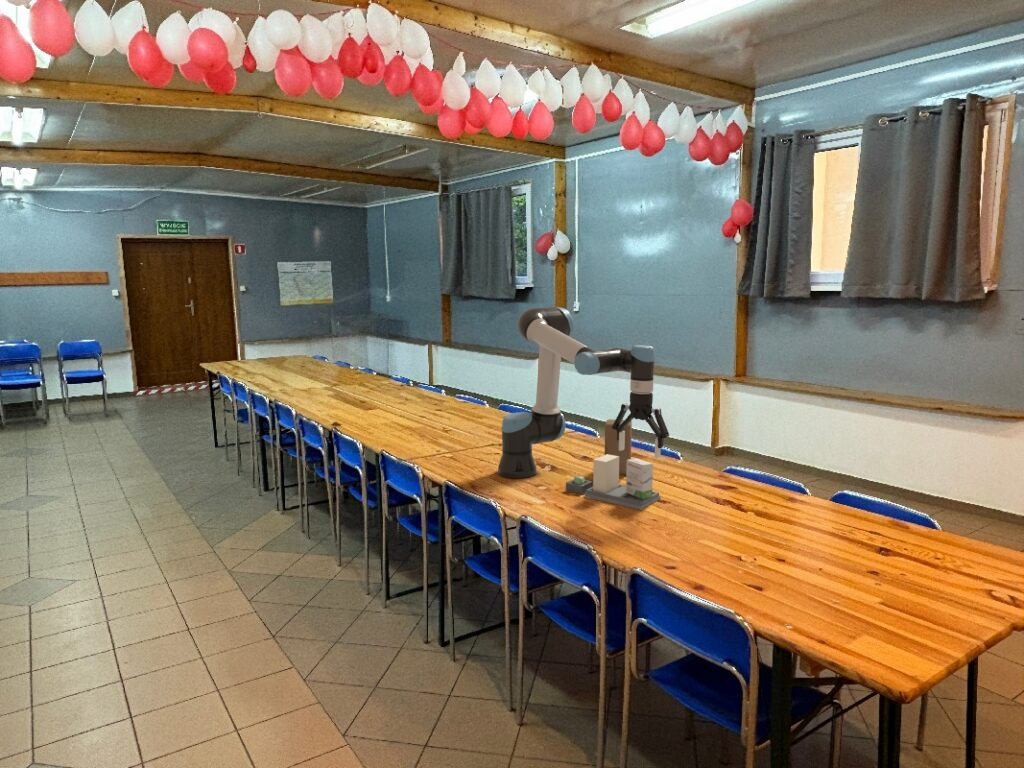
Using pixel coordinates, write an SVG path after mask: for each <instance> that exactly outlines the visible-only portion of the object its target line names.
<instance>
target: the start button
mask: <svg viewBox="0 0 1024 768" xmlns="http://www.w3.org/2000/svg"><path fill="white" fill-rule="evenodd" d="M573 477H574V483H575V484H580V485H582V484H584V480H585V476H583V475H575V476H573Z"/></svg>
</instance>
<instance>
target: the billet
mask: <svg viewBox="0 0 1024 768" xmlns="http://www.w3.org/2000/svg"><path fill="white" fill-rule="evenodd" d="M592 482H593V491H598V492H602V493H609V492H611V491H613V490H615V489H617V488H619V484H620V474H619V456H614V455H609V454H606V455H605V454H604V455H601V456H599V457H597V458H594V459H593V481H592Z"/></svg>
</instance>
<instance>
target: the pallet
mask: <svg viewBox="0 0 1024 768" xmlns="http://www.w3.org/2000/svg"><path fill="white" fill-rule="evenodd" d="M584 497H585V498H588V499H593V500H597V501H601V502H606V503H610V504H614V505H617V506H622V507H627V508H631V509H636V510H639V511H640V510H643V509H646V508H647V507H648V506H651V505H652V504H654V503H655V502H657V501H660V500H661V495H660V492H658V491H653V490H652V497H649V498H645V499H641V498H638V497H636V496H633V495H631V494H629V493H626V484H625V485H624V484H620V483H619V488H617V489H615V490H613V491H611V492H609V493H602V492H598V491H593V487H591V488H589V489H587V490H586V493H584Z"/></svg>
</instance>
